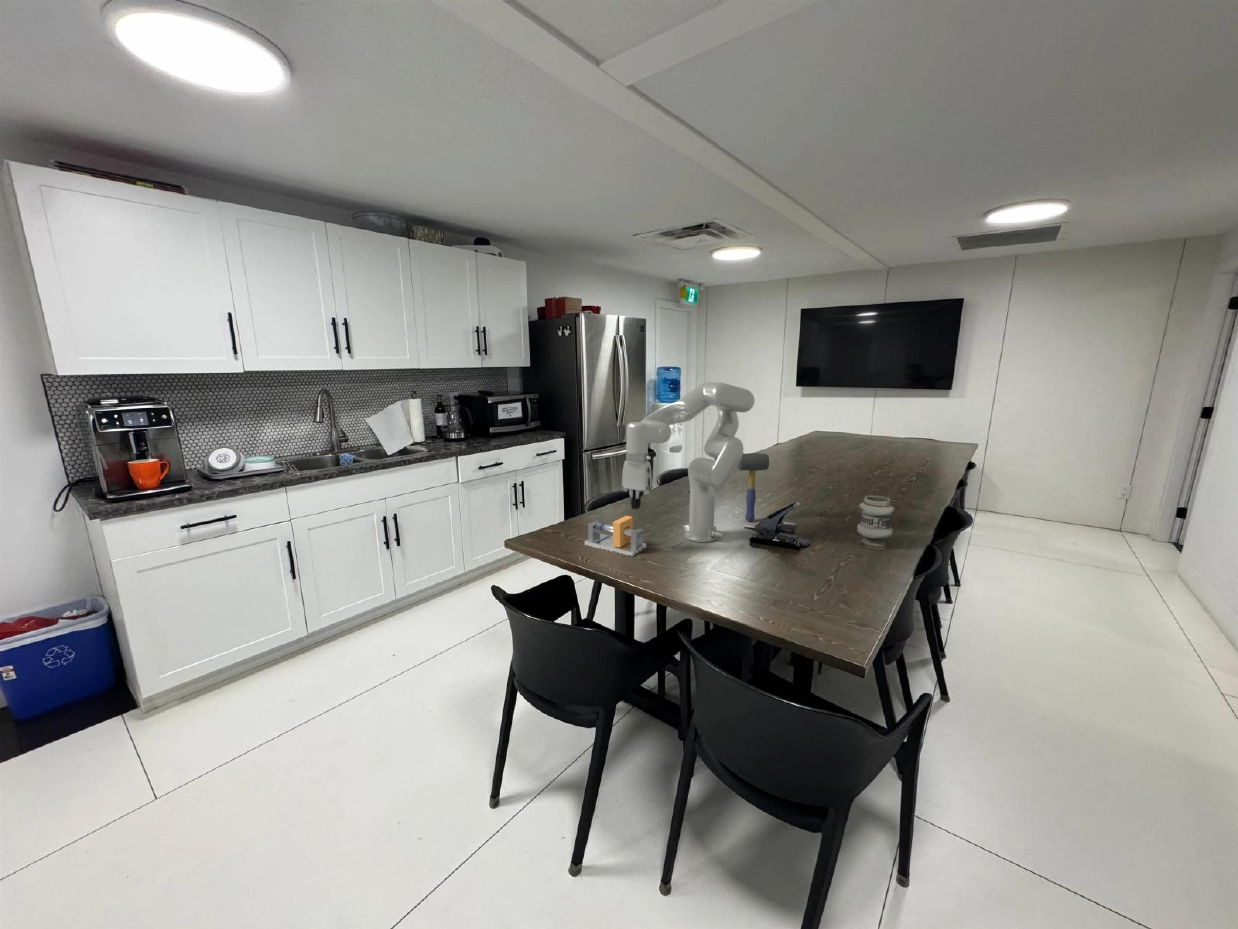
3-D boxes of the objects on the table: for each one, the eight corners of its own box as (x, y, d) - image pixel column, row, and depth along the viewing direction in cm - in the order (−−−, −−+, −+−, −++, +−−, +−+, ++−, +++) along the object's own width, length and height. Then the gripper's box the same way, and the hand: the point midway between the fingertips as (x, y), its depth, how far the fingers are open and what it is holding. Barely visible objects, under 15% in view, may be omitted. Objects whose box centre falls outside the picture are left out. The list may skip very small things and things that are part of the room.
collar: (632, 540, 180) (632, 517, 178) (619, 547, 173) (619, 523, 171) (625, 538, 182) (625, 515, 180) (613, 545, 174) (612, 522, 173)
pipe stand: (646, 547, 178) (646, 527, 177) (632, 556, 170) (632, 535, 168) (599, 537, 189) (599, 518, 188) (584, 544, 181) (584, 525, 179)
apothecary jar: (848, 540, 184) (852, 495, 181) (872, 537, 188) (877, 492, 184) (873, 551, 173) (878, 503, 169) (899, 548, 177) (904, 500, 173)
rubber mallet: (761, 518, 212) (765, 451, 206) (766, 523, 204) (770, 454, 199) (733, 518, 212) (736, 451, 206) (737, 524, 204) (740, 454, 199)
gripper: (660, 458, 167) (659, 509, 170) (624, 454, 175) (623, 502, 178) (650, 461, 161) (648, 514, 164) (613, 456, 168) (612, 507, 172)
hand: (635, 508), depth 171 cm, fingers closed
